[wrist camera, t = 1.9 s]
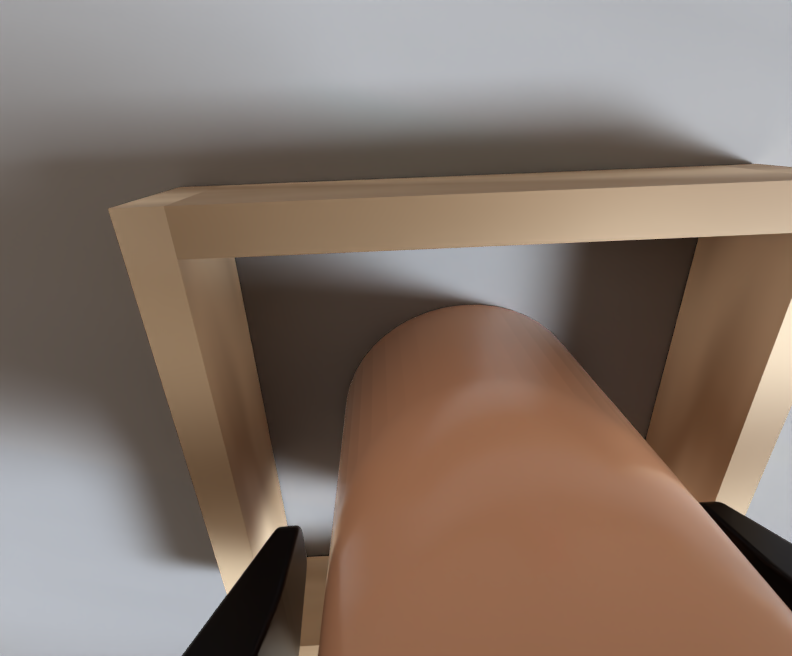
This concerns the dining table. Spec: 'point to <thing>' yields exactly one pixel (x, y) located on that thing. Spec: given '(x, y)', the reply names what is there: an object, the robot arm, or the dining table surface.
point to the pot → (520, 512)
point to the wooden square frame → (453, 228)
